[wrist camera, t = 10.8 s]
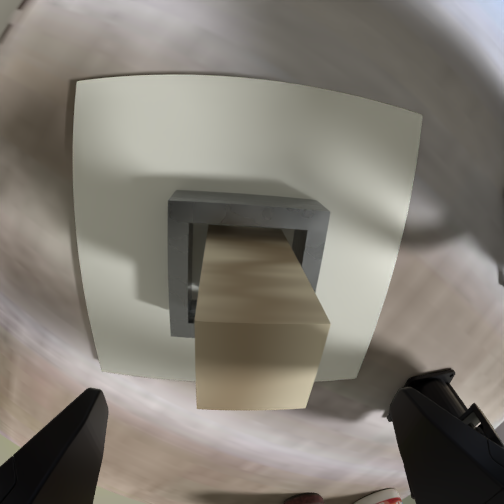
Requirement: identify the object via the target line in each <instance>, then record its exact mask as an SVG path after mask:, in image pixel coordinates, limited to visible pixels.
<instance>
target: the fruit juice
mask: <svg viewBox="0 0 504 504" xmlns="http://www.w3.org/2000/svg"><path fill="white" fill-rule="evenodd" d="M354 504H402V501H401V498H400V496H399V493H398V492H397V490H396V489H386V490H382V491H379V492H376V493H373V494H371V495H368V496H366V497H364V498H362V499H360V500H358V501H357V502H355V503H354Z"/></svg>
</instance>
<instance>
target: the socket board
mask: <svg viewBox="0 0 504 504" xmlns="http://www.w3.org/2000/svg"><path fill="white" fill-rule="evenodd" d="M422 118H423V115H422V114H419V113H416V112H413V111H409V110H406V109H403V108H400V107H396V106H393V105H389V104H386V103H382V102H379V101H375V100H371V99H367V98H363V97H359V96H355V95H351V94H346V93H342V92H337V91H332V90H327V89H322V88H317V87H311V86H305V85H299V84H293V83H286V82H279V81H271V80H262V79H253V78H242V77H229V76H213V75H138V76H121V77H109V78H99V79H90V80H82V81H77V85H76V95H75V108H74V124H73V196H74V213H75V226H76V236H77V246H78V254H79V262H80V269H81V276H82V283H83V289H84V295H85V300H86V306H87V311H88V316H89V321H90V325H91V330H92V334H93V339H94V343H95V347H96V351H97V355H98V359H99V363H100V366H101V370H102V372H108V373H115V374H122V375H130V376H138V377H146V378H156V379H167V380H179V381H193V382H196V373H195V338H185V337H171V333H170V315H169V292H168V200H169V198H170V197H171V196H172V195H173V193H174V192H175V191H176V190H190V191H209V192H226V193H241V194H255V195H267V196H279V197H290V198H301V199H311V200H317V201H318V202H319V203H320V204H322V205H323V206H324V207H325V208H326V209H328V210H329V211H330V218H329V224H328V230H327V235H326V241H325V246H324V252H323V257H322V262H321V267H320V272H319V277H318V282H317V287H316V292H315V294H316V296H317V298H318V299H319V301H320V303H321V305H322V307H323V309H324V311H325V313H326V315H327V317H328V319H329V321H330V323H331V325H330V329H329V333H328V336H327V340H326V343H325V347H324V350H323V354H322V357H321V361H320V364H319V367H318V371H317V374H316V377H315V380H314V382H319V381H334V380H346V379H356V377H357V375H358V372H359V370H360V367H361V365H362V362H363V360H364V357H365V354H366V352H367V349H368V347H369V344H370V341H371V338H372V336H373V333H374V330H375V327H376V324H377V321H378V318H379V315H380V312H381V309H382V306H383V303H384V300H385V297H386V294H387V290H388V287H389V284H390V280H391V277H392V273H393V270H394V266H395V262H396V259H397V255H398V251H399V247H400V243H401V239H402V235H403V231H404V226H405V222H406V218H407V213H408V208H409V203H410V198H411V193H412V188H413V182H414V176H415V170H416V164H417V158H418V151H419V143H420V136H421V127H422ZM208 225H224V224H206V223H193V251H192V300H197V298H198V291H199V284H200V277H201V270H202V263H203V257H204V250H205V244H206V237H207V231H208ZM225 226H240V225H225ZM242 227H256V226H242ZM258 228H271V227H258ZM274 229H281V230H282V232H283V233H284V235H285V237H286V239H287V241H288V243H289V245H290V246H291V248H292V243H293V236H294V229H285V228H274Z"/></svg>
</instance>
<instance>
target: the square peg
mask: <svg viewBox="0 0 504 504" xmlns="http://www.w3.org/2000/svg"><path fill="white" fill-rule="evenodd" d="M330 325H331V323H330V321H329V319H328V317H327V315H326V313H325V311H324V309H323V307H322V305H321V303H320V301H319V299H318V298H317V296H316V294H315V292H314V290H313V288H312V286H311V284H310V282H309V280H308V278H307V276H306V275H305V273H304V271H303V269H302V267H301V265H300V263H299V261H298V259H297V258H296V256H295V254H294V252H293V250H292V248H291V246H290V245H289V243H288V241H287V239H286V237H285V235H284V233H283V232H282V230H281V229H274V228H258V227H242V226H225V225H208V231H207V237H206V244H205V250H204V257H203V263H202V270H201V277H200V284H199V291H198V298H197V306H196V313H195V373H196V400H197V409H207V410H283V409H301V408H306V405H307V402H308V399H309V396H310V393H311V390H312V387H313V383H314V380H315V377H316V374H317V371H318V367H319V364H320V361H321V357H322V354H323V350H324V347H325V343H326V340H327V336H328V333H329V329H330Z"/></svg>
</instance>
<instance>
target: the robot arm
mask: <svg viewBox="0 0 504 504" xmlns="http://www.w3.org/2000/svg"><path fill="white" fill-rule="evenodd" d="M454 375H455V371H454V370H448V371H443V372H438V373H433V374H428V375H423V376H418V377H413V378H410V379H409V380H408V381H407V383H406V385H405V387H404V388H401V389H400V390H399V391H398V392H397V394H396V396H395V398H394V399H393V401H392V403H391V405H390V413H389V415H388V417H387V419H388V421H389V422H391V421H393V426H394V430H395V434H396V439H397V443H398V447H399V451H400V454H401V457H402V460H403V463H404V468H405V472H406V476H407V480H408V484H409V488H410V492H411V497H412V498H413V499H415V501H416V504H504V444H503V443H502V441H501V439H500V438H499V436H498V434H497V433H496V431H495V430H494V428H493V426H492V425H491V424H490V422H489V421H488V419H487V418H486V416H485V415H484V414H483V412H482V411H481V410H480V409H479V407H478V406H477V405H476V404H475V403H473V404H472V405H471V406H470V408H469V409H467V408H466V406H465V405H464V403H463V402H462V400H461V399H460V398H459V396H458V395H457V393H456V392H455V390H454V389H453V388H452V386H451V385H450V382H451V380H452V379H453V377H454ZM107 420H108V406H107V403H106V400H105V397H104V394H103V392H102V390H100V389H95V388H88V389H86V390H85V391H84V392H83V393H82V394H80V395H79V396H78V397H77V398H76V399H75V400H74V401H73V402H72V403H70V404H69V405H68V406H67V407H66V408H65V409H64V410H63V411H62V412H60V413H59V414H58V415H57V416H56V417H55V418H54V419H53V420H52V421H50V422H49V423H48V424H47V425H46V426H45V427H44V428H43V429H42V430H40V431H39V432H38V433H37V434H36V435H35V436H34V437H33V438H32V439H30V440H29V441H28V442H27V443H26V444H25V445H24V446H23V447H22V448H21V449H20V450H18V451H17V452H16V453H15V454H14V455H13V456H12V457H11V458H9V459H8V460H7V461H6V462H5V463H4V464H3V465H1V466H0V504H93V499H94V495H95V490H96V485H97V481H98V476H99V472H100V467H101V463H102V458H103V452H104V443H105V435H106V427H107ZM480 422H481V424H480V425H479V426H478V427H475V426H476V425H477V424H478V423H480Z"/></svg>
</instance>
